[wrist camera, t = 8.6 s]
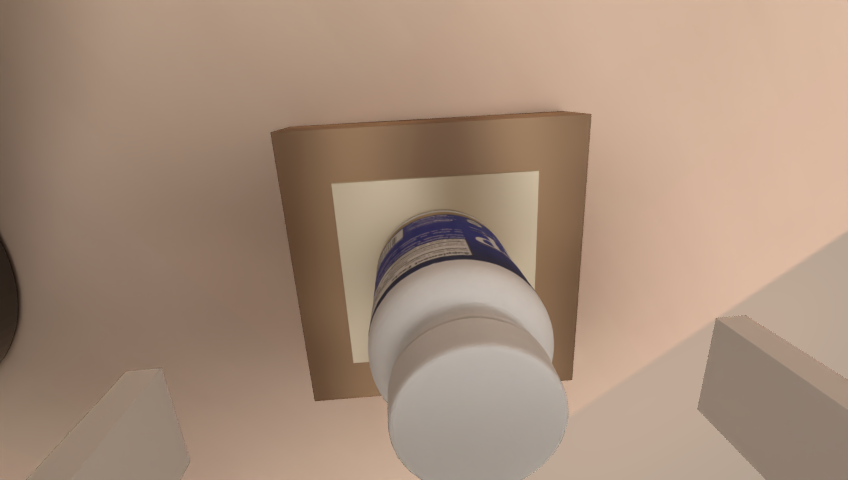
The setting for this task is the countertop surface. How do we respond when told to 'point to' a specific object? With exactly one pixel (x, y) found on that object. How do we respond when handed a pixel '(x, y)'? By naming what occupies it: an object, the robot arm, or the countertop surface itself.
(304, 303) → the stand
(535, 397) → the pill bottle
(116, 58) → the countertop surface
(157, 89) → the countertop surface
